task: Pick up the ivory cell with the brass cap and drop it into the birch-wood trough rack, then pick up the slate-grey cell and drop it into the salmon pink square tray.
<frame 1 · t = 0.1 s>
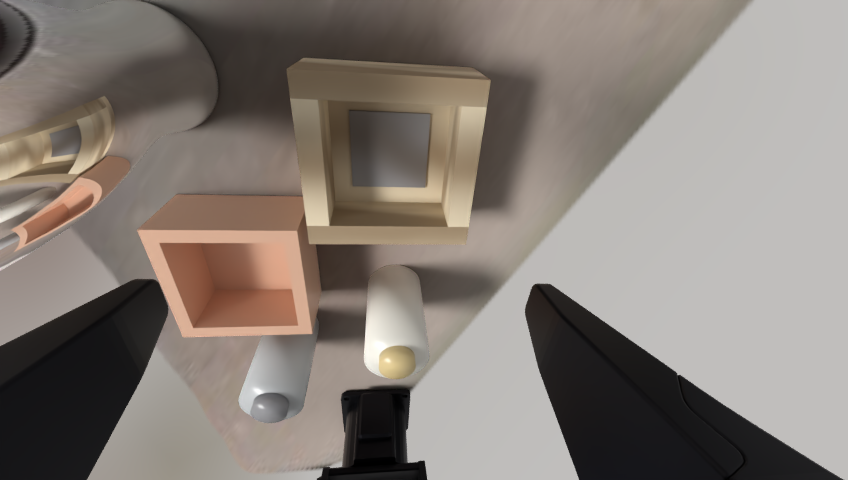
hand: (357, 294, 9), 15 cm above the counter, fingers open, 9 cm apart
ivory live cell: (394, 285, 28), on the counter
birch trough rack: (389, 145, 22), on the counter
beer glass: (157, 70, 19), on the counter
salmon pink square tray: (256, 248, 25), on the counter
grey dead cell: (293, 325, 29), on the counter
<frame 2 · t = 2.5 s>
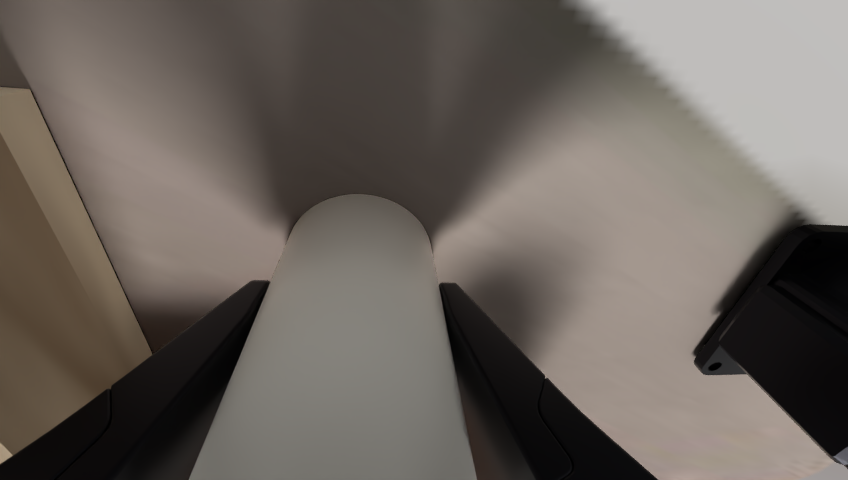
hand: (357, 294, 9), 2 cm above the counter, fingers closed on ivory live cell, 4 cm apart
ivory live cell: (361, 258, 10), on the counter, touching gripper
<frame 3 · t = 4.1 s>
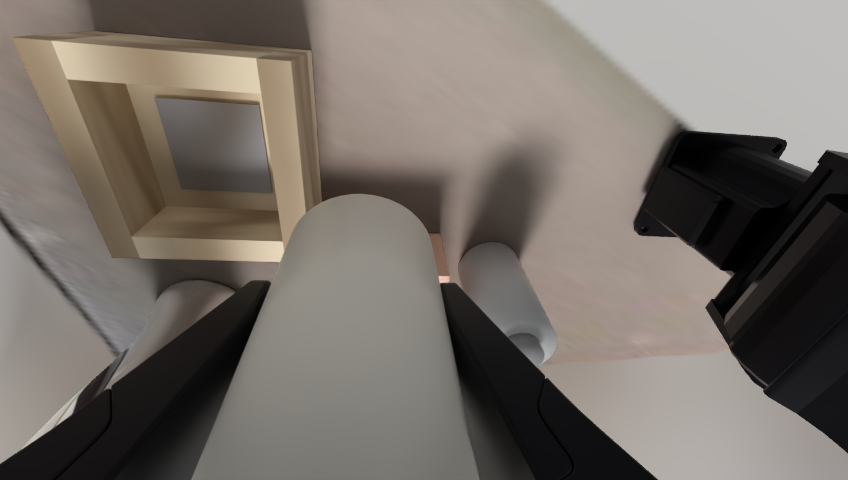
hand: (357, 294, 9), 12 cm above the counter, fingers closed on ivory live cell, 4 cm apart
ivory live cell: (362, 258, 10), point 10 cm above the counter, touching gripper
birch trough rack: (227, 141, 18), on the counter
beer glass: (210, 311, 24), on the counter
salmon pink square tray: (373, 282, 24), on the counter
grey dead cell: (487, 267, 24), on the counter
when the fingers open (5 cm above the counter, at t = 6.1 s): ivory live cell drops 2 cm, resting on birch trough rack.
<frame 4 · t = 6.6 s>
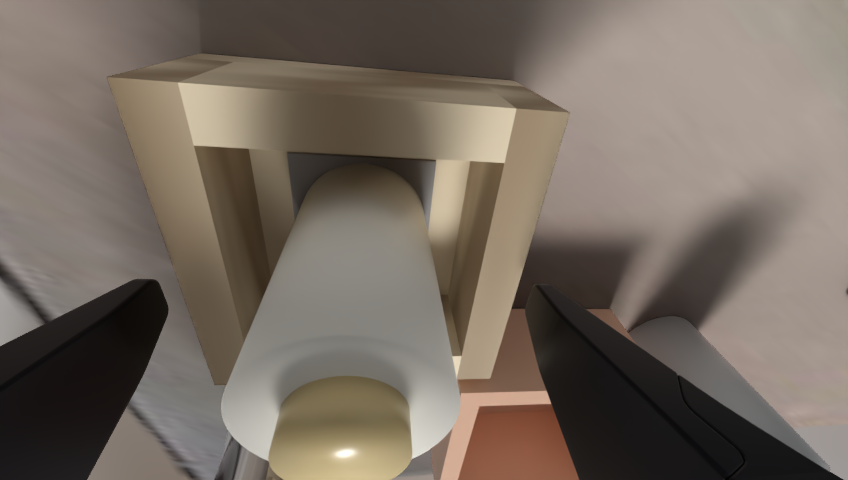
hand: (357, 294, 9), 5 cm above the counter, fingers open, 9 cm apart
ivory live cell: (364, 221, 12), point 1 cm above the counter, touching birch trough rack
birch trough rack: (364, 205, 13), on the counter
beer glass: (297, 403, 19), on the counter
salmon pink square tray: (510, 365, 19), on the counter
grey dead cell: (653, 343, 19), on the counter
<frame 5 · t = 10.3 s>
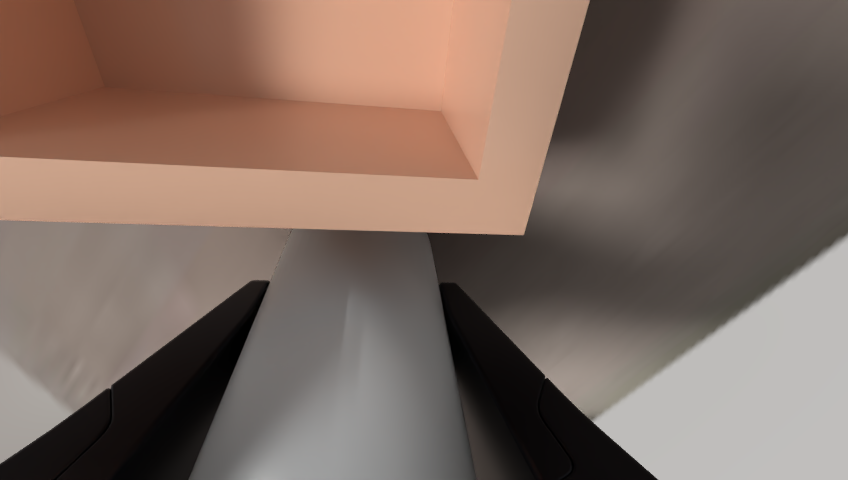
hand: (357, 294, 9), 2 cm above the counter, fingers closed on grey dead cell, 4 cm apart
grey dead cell: (361, 258, 10), on the counter, touching gripper
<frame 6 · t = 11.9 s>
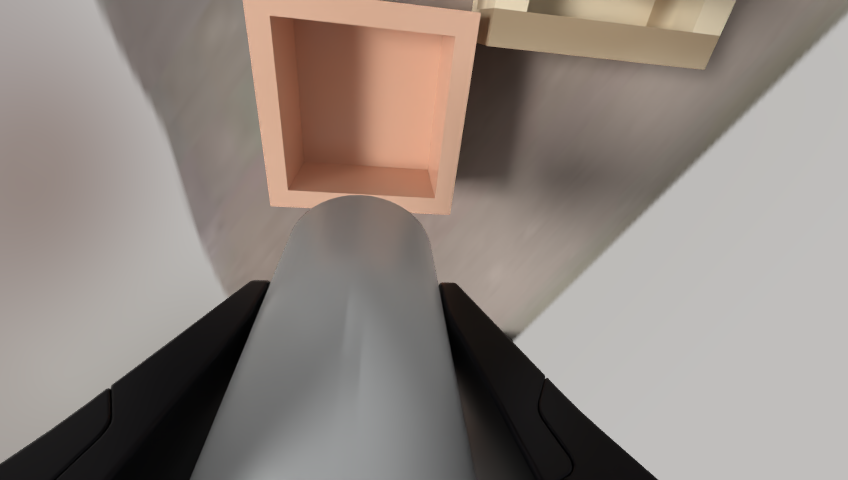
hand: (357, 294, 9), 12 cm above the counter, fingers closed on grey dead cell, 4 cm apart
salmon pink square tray: (368, 99, 18), on the counter
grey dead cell: (361, 259, 10), point 10 cm above the counter, touching gripper
when the fingers open (5 cm above the counter, at t = 13.6 s): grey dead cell drops 3 cm, resting on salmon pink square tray.
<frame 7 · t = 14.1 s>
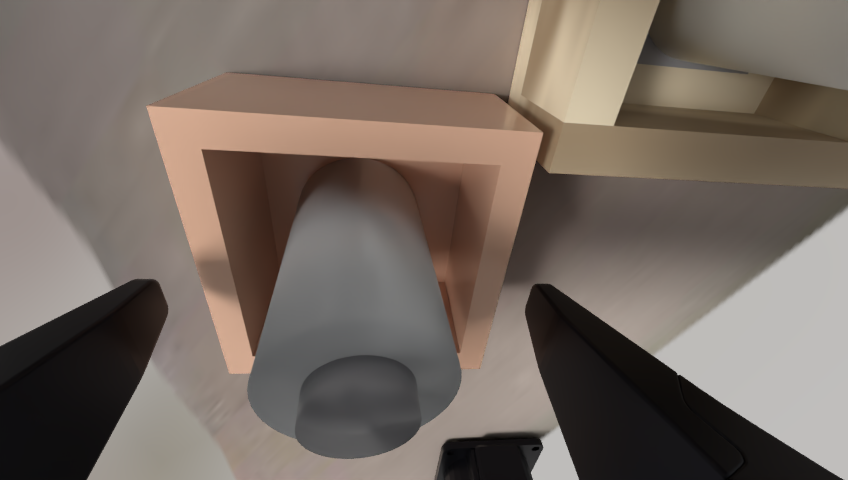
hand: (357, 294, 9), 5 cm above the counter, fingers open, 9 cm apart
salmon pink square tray: (366, 201, 13), on the counter
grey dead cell: (359, 212, 12), point 1 cm above the counter, touching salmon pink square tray
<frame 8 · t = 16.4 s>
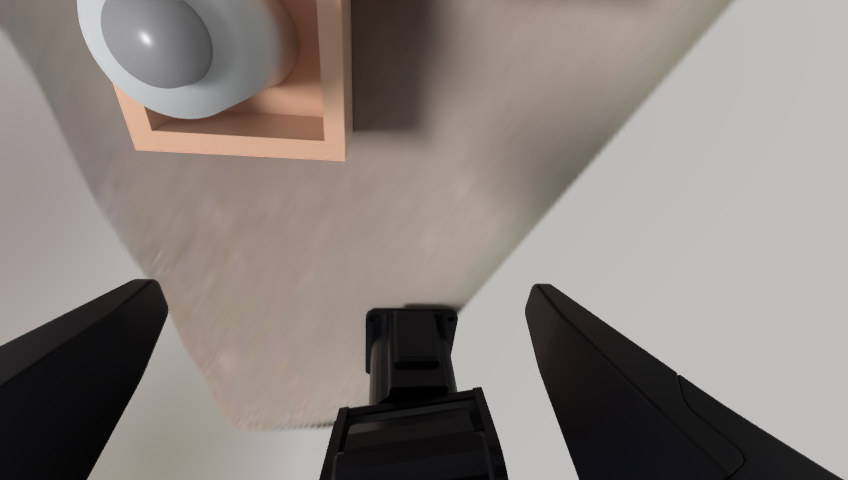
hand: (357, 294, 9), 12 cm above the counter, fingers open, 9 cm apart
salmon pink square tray: (259, 35, 16), on the counter
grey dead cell: (249, 37, 15), point 1 cm above the counter, touching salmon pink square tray
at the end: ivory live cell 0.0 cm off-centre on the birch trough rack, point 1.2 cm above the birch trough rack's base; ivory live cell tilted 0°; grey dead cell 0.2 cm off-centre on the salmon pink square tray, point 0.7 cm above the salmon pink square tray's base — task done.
